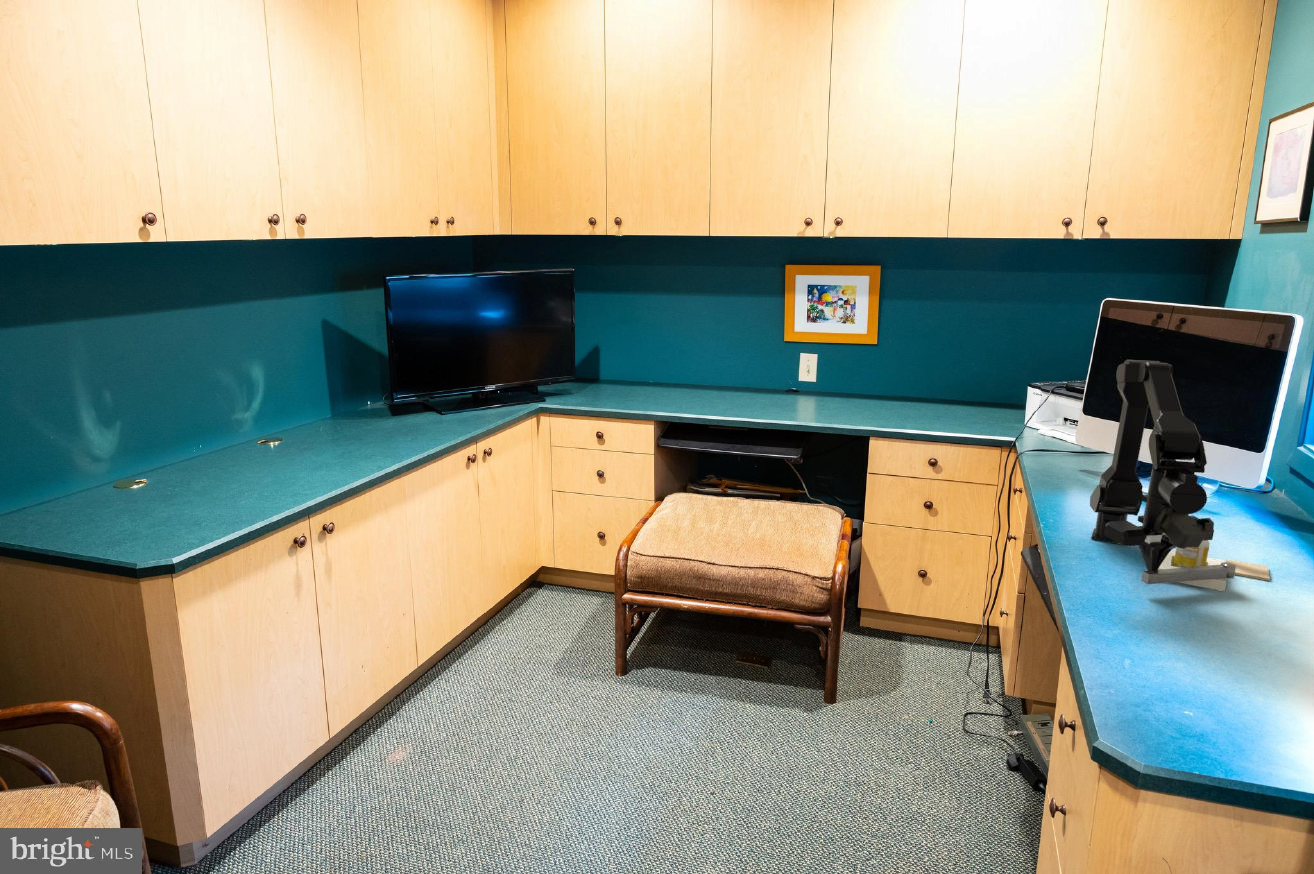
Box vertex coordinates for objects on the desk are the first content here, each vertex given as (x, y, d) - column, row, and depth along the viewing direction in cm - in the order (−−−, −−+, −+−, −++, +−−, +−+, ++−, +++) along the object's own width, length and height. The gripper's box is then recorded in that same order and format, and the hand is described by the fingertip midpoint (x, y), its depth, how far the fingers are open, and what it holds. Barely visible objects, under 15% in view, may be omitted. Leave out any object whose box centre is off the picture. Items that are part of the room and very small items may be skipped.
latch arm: (1226, 572, 165) (1228, 561, 165) (1237, 577, 163) (1239, 566, 162) (1139, 580, 161) (1141, 569, 161) (1149, 585, 159) (1150, 574, 158)
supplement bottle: (1181, 579, 168) (1190, 532, 165) (1166, 567, 173) (1174, 522, 170) (1209, 579, 168) (1218, 532, 165) (1193, 568, 173) (1201, 523, 170)
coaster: (1225, 561, 177) (1226, 559, 176) (1267, 568, 173) (1267, 566, 173) (1226, 573, 171) (1226, 570, 171) (1269, 581, 167) (1269, 578, 167)
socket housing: (1154, 557, 178) (1156, 548, 178) (1223, 569, 172) (1225, 560, 172) (1151, 577, 168) (1153, 567, 168) (1224, 591, 162) (1226, 581, 162)
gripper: (1153, 513, 148) (1137, 596, 153) (1246, 507, 152) (1229, 588, 156) (1108, 491, 159) (1095, 569, 163) (1197, 486, 162) (1182, 562, 167)
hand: (1151, 573), depth 162 cm, fingers closed, pressing on latch arm
